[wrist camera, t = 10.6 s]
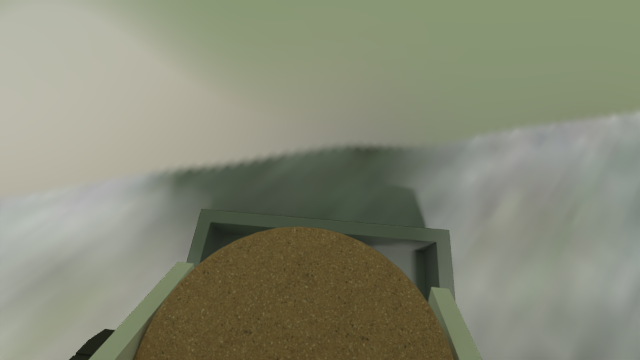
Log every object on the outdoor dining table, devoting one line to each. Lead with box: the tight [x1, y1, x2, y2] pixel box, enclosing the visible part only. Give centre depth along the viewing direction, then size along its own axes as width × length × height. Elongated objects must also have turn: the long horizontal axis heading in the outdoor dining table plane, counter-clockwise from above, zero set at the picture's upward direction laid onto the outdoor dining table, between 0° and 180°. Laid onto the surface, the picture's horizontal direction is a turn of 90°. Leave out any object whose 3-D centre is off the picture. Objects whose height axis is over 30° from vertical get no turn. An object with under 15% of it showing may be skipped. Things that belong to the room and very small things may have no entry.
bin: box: [186, 209, 455, 302], centre depth 17 cm, size 16×16×4 cm
